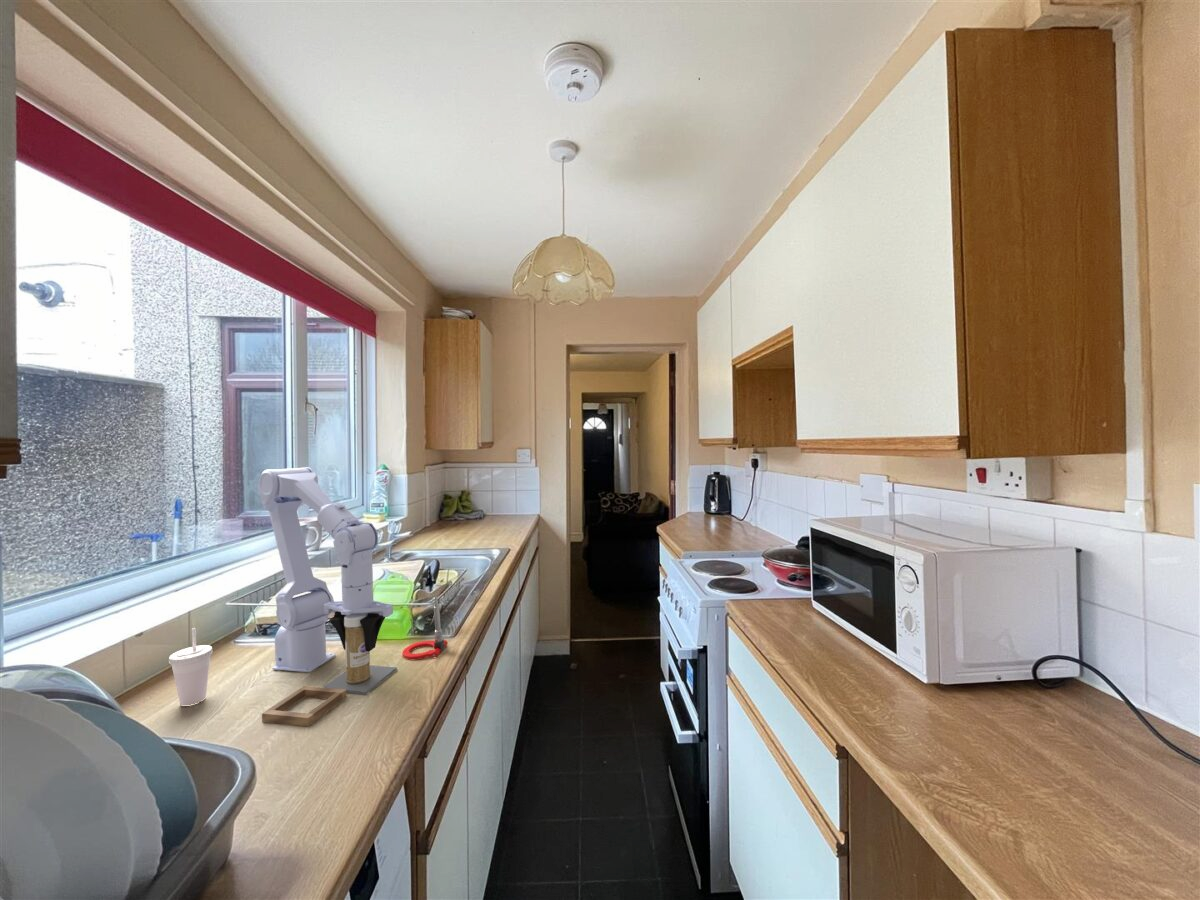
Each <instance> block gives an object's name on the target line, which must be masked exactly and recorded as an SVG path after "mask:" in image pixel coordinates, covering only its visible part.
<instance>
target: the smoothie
mask: <svg viewBox="0 0 1200 900" xmlns="http://www.w3.org/2000/svg"><path fill="white" fill-rule="evenodd" d="M196 630H197V629H196V627H192V628H191V640H192V641H191V642H192V646H189V647H186V648H182V649H180V650H177V651H175V652H173V653H172V654H170V655H169V656H168V657H169V658H168V664H170V665H171V668H172V673H173V677H174V681H175V682H174V683H175V687H176V691H177V696H178V701H179V705H180V704H181V705H191V704H195V703H198V702H200V701H201V700H203V699H204V698H205V697H206V696H207V690H208V681H209V672H210V664H211V663H210V662H211V655H212V654H213V646H211V645H207V644H202V645H197V631H196Z"/></svg>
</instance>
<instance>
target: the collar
mask: <svg viewBox="0 0 1200 900" xmlns="http://www.w3.org/2000/svg"><path fill="white" fill-rule="evenodd" d="M322 687H323V686H322ZM322 687H320V686H309V685H303V686H301V687H300V688H299V689H297V690H296V691H294V692H292V693H291V694H288V696H286V697H285V698H283V699H282V700H280V701H279V702H277V703H276V704H274V705H272V706H271V707H269V708H268V709H266V710H264V711H263V712H262V713H261V722H262V723H271V724H280V725H291V726H300V727H310V726H311V725H313V724H314V723H315V722H317V721H318V720H319V719H320V718H321V717H323V716H324V715H326V714H327V713H328V712H330V711H331V710H332V709H333V708H335V707H336V706H338V704H340V703H341V702H342V701H343V700H346V698H347V696H348V695H347V693H346V689H334V688H322ZM304 698H308V699H309V698H311V699H320V700H324V701H323V702H321V703H320V704H319V705H317V706H316V707H314V708H313V709H312V710H310V711H309V712H308V713H307V712H296V711H288V709H290V708H291V707H292V706H294V705H296V704H297V703H298V702H300V701H301V700H303V699H304Z"/></svg>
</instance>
